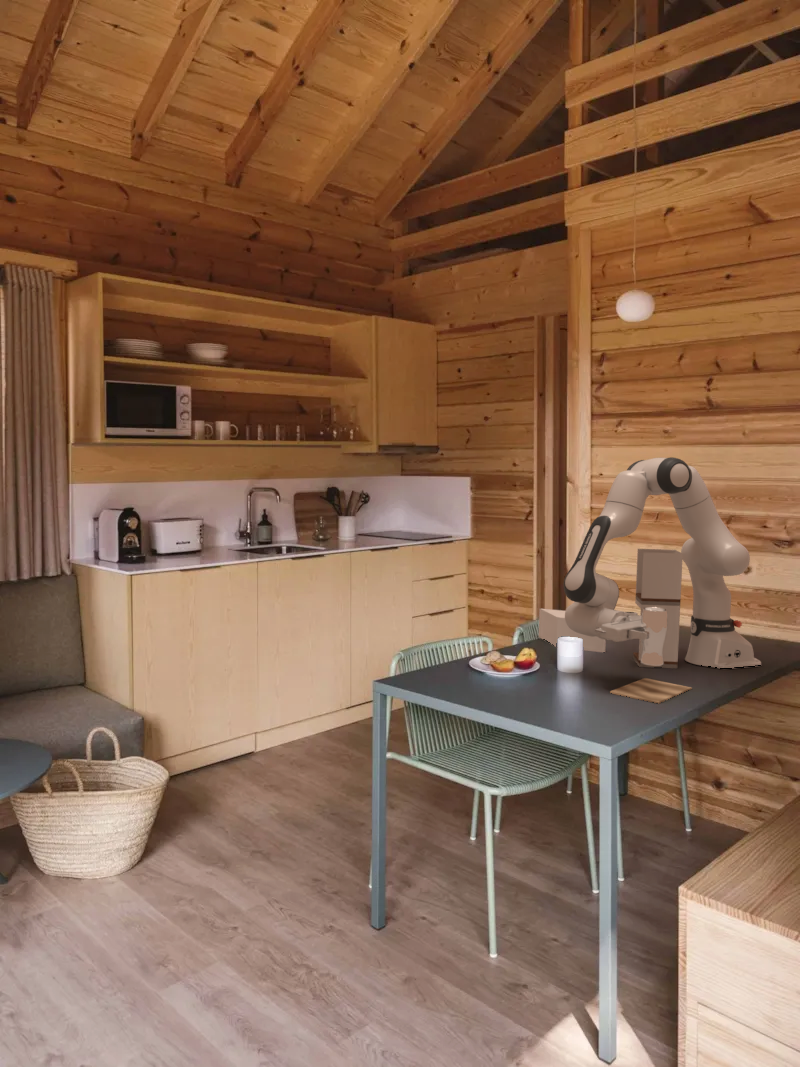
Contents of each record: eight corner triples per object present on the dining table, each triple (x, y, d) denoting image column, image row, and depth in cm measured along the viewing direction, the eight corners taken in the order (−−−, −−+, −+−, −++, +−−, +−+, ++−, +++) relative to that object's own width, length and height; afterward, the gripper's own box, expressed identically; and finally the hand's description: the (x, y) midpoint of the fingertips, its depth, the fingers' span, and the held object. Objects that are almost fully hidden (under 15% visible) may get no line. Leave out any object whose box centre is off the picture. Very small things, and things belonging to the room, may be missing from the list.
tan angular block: (552, 634, 310) (553, 606, 309) (619, 650, 287) (620, 619, 286) (524, 639, 301) (525, 610, 300) (590, 656, 278) (592, 624, 277)
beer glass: (668, 662, 238) (671, 608, 236) (661, 667, 232) (664, 612, 231) (642, 659, 241) (645, 605, 240) (635, 664, 235) (638, 609, 234)
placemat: (644, 679, 249) (644, 678, 249) (691, 689, 240) (691, 687, 240) (609, 693, 235) (610, 691, 235) (658, 703, 225) (658, 702, 225)
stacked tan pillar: (670, 660, 274) (675, 549, 271) (677, 668, 263) (682, 553, 260) (633, 658, 275) (637, 548, 272) (638, 666, 265) (643, 552, 261)
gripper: (591, 618, 239) (633, 627, 228) (636, 611, 252) (678, 619, 241) (590, 641, 240) (632, 650, 229) (635, 632, 253) (677, 641, 242)
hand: (656, 634), depth 235 cm, fingers closed on beer glass, 6 cm apart
